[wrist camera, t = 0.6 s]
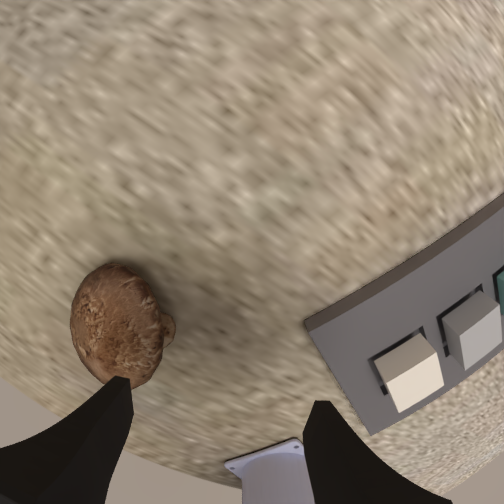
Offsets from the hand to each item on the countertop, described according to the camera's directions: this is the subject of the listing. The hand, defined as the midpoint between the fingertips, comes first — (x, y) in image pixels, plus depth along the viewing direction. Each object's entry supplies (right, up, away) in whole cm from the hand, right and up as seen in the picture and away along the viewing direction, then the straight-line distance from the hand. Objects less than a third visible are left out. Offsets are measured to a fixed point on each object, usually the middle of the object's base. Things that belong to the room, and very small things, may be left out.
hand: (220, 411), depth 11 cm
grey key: (+18, +1, +9) cm, 20 cm away
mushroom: (-7, +2, +10) cm, 13 cm away
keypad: (+18, +1, +11) cm, 21 cm away
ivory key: (+13, -2, +10) cm, 16 cm away
